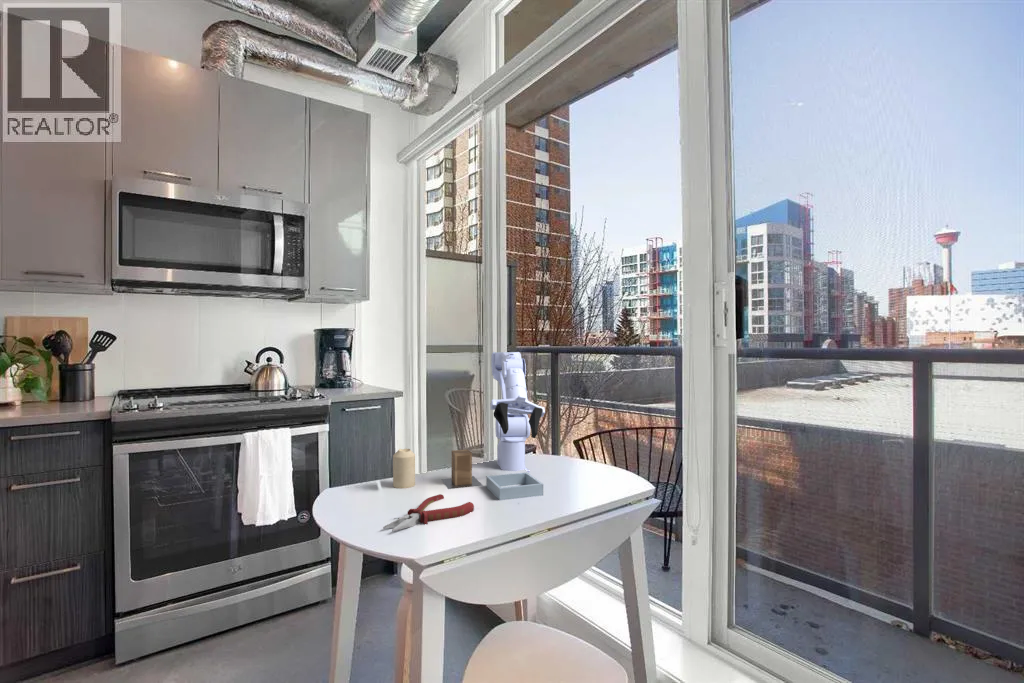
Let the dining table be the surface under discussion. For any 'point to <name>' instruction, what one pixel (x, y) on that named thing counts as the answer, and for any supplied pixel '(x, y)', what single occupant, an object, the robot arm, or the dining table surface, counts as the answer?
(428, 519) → the pliers
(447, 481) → the base
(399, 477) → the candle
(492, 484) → the bin
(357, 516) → the dining table surface
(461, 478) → the brown block
